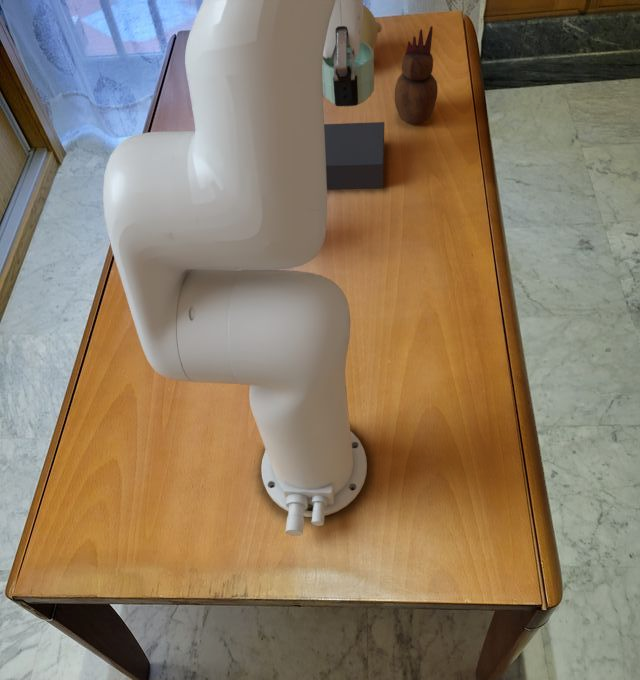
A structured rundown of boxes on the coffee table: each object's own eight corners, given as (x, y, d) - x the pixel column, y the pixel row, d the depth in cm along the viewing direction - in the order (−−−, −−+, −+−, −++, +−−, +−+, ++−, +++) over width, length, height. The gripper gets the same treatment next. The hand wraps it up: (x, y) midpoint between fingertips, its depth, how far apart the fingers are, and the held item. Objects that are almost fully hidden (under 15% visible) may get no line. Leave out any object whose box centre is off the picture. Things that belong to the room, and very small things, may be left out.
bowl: (373, 108, 89) (372, 69, 85) (321, 109, 90) (318, 72, 85) (374, 76, 93) (374, 38, 88) (325, 78, 94) (322, 40, 89)
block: (382, 188, 99) (382, 163, 96) (319, 189, 101) (316, 165, 97) (384, 146, 104) (384, 121, 100) (323, 148, 105) (321, 124, 102)
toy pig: (332, 75, 121) (295, 56, 113) (360, 7, 116) (323, -18, 108) (367, 94, 117) (331, 76, 109) (398, 24, 111) (362, 0, 103)
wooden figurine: (440, 114, 107) (448, 21, 94) (424, 134, 105) (430, 41, 92) (405, 103, 109) (408, 11, 96) (389, 123, 107) (389, 31, 94)
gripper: (314, -88, 80) (326, 52, 95) (303, -14, 72) (317, 127, 87) (374, -92, 79) (376, 50, 94) (369, -18, 71) (372, 125, 86)
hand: (348, 86), depth 91 cm, fingers closed on bowl, 7 cm apart
